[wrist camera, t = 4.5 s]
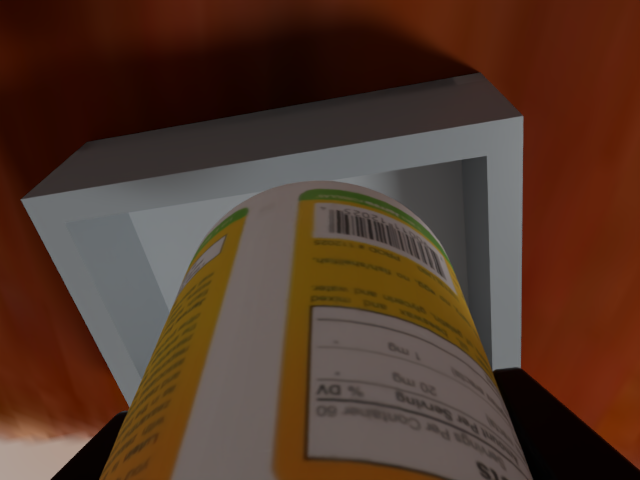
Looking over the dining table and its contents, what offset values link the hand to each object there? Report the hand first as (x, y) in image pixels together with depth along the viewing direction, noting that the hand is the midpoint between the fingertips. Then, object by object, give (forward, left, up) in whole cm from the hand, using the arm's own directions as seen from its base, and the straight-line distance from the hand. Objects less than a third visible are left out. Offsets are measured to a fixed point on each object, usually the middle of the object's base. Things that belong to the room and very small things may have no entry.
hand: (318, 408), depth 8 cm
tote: (+2, +6, -14) cm, 15 cm away
